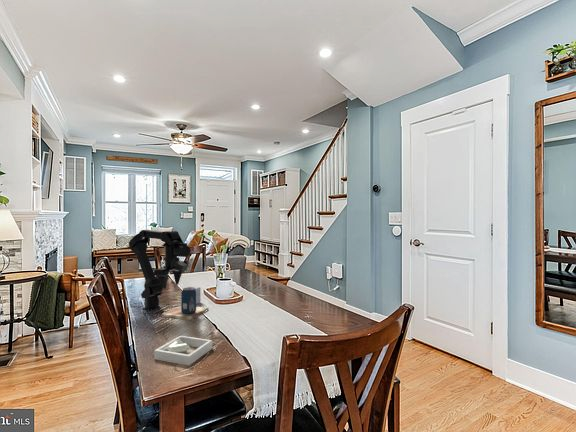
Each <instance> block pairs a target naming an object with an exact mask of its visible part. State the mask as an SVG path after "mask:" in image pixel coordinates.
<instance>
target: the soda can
mask: <svg viewBox="0 0 576 432" xmlns="http://www.w3.org/2000/svg"><path fill="white" fill-rule="evenodd" d="M187 287H188V286H187ZM193 287H194V286H190V287H188V288H186V287H184V288H182V291H181V293H180V294H181V297H180V299H181V301H180V302H181V303H180V304H181V305H180V306H181V312H182V313H183V314H184V315H191V314H194V313H195V311H196V307H197V304H196V290H195V288H193Z"/></svg>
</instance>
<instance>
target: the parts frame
mask: <svg viewBox="0 0 576 432" xmlns="http://www.w3.org/2000/svg"><path fill="white" fill-rule="evenodd" d="M179 339H180V340H181V341H182V342H183V344H184V343H186V344H187V345H188V346H190V347H194V348H196V349H195V350H193V351H192V352H189V353H188V354H187V353H183V354H182V353H176V352H170V351H164V350H163V349H164V348H166V347H168V346H169V345H171V344H172V343H173V342H174V341H176V340H179ZM212 349H213V340H212V339H205V338H198V337H192V336H185V335H179V336H177V337H175V338H174V339H172V340H170V341H168V342H167V343H165V344H163V345H161V346H160V347H158V348H156V349H155V350H154V354H153V355H154V360H157V361H163V362H169V363H172V364H173V363H174V364H179V365H184V366H190V365H192V364H193V363H194V362H195V361H197V360H199V359H200V358H202V356H204V355H206V354H207V353H208V352H209V351H211V350H212Z"/></svg>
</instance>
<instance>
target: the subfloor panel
mask: <svg viewBox="0 0 576 432" xmlns="http://www.w3.org/2000/svg"><path fill="white" fill-rule="evenodd" d="M206 310H208V311H209V307H205V306H204V307H203V306H196V311H195V313H194V314H191V315H184V314H183V313H182V312H181V305H179V306H177V307H174V308H172V309H169V310H167V311H164V312H163V313H161V317H162V318H163V317H164V318H172V319H179V320H187V321H190V320H192V319H195V318H197V317H198V316H200V315H202V314H204V313H206V312H207V311H206ZM205 311H206V312H205ZM203 312H204V313H203Z"/></svg>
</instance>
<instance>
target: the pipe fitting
mask: <svg viewBox="0 0 576 432" xmlns="http://www.w3.org/2000/svg"><path fill="white" fill-rule="evenodd" d="M190 349H191V346H188V345H187V344H186V343H184V344H183V342H182V341H181V340H180V339H179V340H176V341H174V342H173V343H172V344H171V345H169V346H168V347H166V348H164V349H163V350H164V351H170V352H176V353H182V354H187V353H188V351H189V350H190Z"/></svg>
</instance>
